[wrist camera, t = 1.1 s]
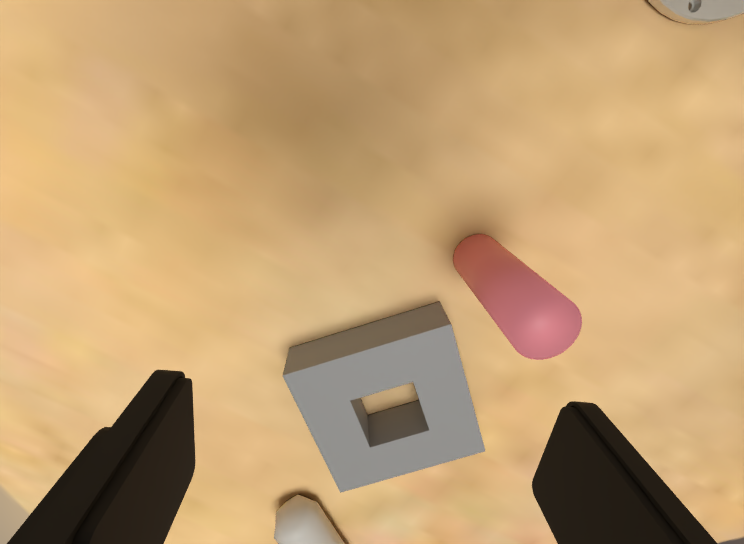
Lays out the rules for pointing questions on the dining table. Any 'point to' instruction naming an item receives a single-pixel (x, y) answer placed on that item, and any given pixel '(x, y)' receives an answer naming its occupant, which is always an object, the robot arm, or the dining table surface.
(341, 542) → the tube
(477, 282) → the peg
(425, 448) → the socket block
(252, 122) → the dining table surface
